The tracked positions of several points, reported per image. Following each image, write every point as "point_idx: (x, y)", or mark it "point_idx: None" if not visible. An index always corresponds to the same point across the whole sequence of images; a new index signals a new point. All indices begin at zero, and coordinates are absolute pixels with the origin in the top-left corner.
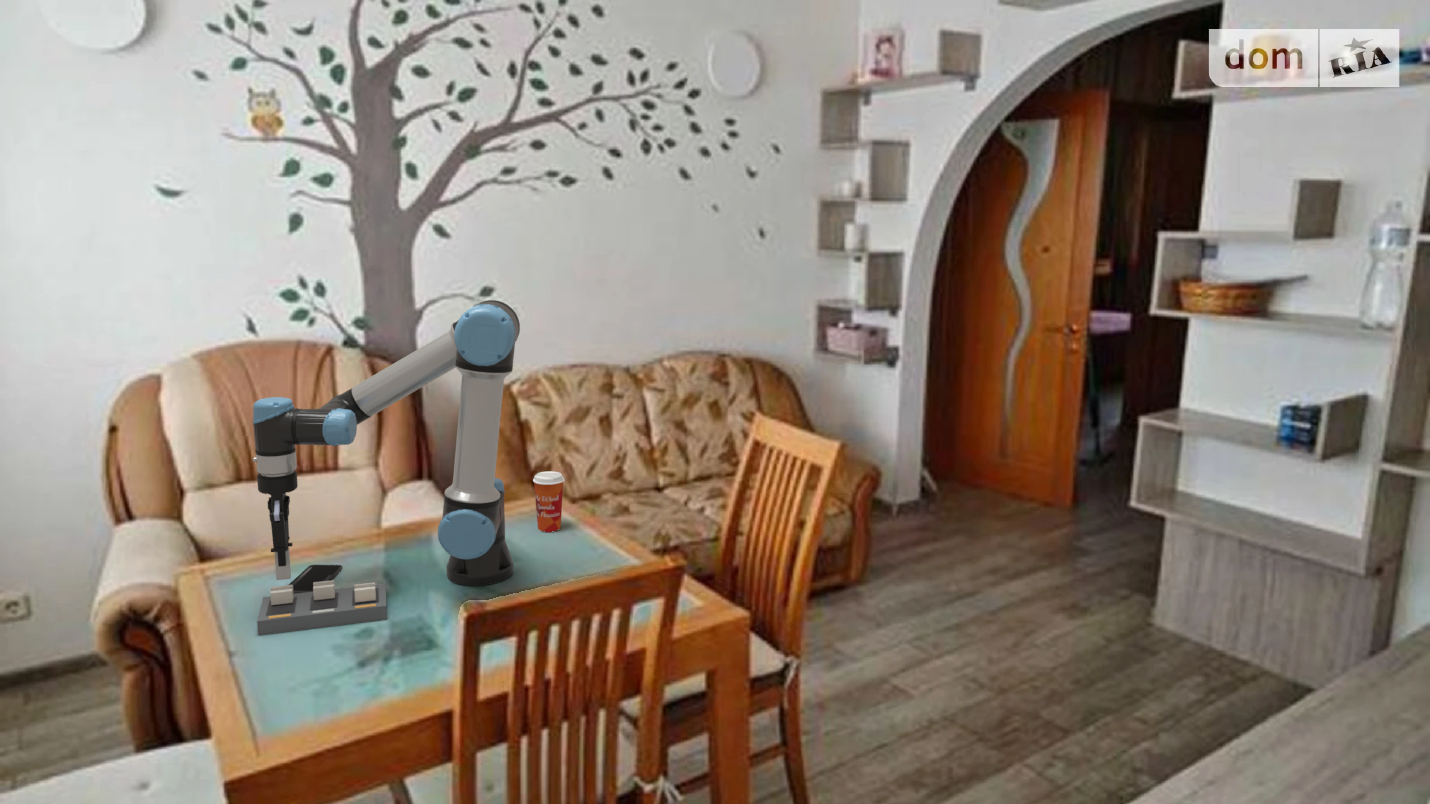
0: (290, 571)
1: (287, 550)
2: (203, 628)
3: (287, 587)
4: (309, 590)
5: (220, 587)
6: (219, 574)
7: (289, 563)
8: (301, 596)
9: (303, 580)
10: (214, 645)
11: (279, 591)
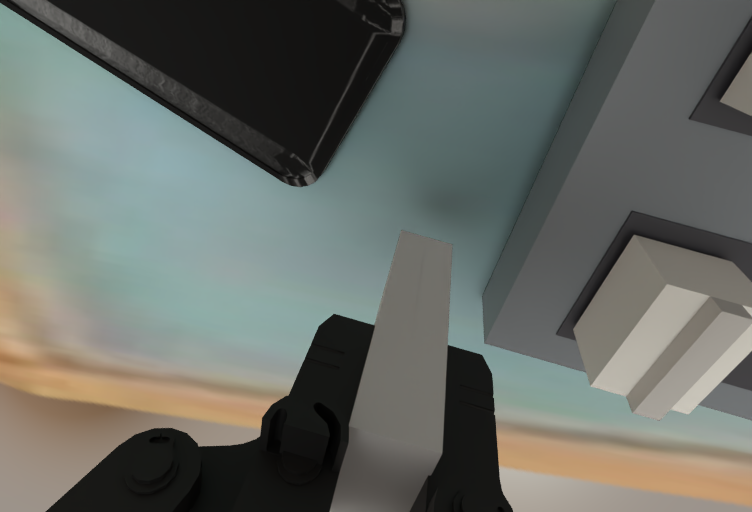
0: (405, 254)
1: (489, 486)
2: (509, 460)
3: (728, 341)
4: (377, 62)
5: (160, 353)
6: (35, 330)
7: (445, 323)
8: (639, 184)
9: (191, 61)
10: (692, 475)
11: (708, 373)
